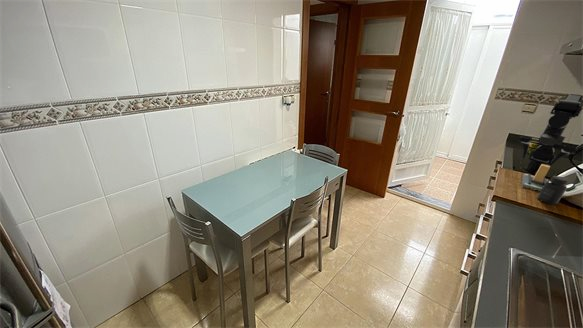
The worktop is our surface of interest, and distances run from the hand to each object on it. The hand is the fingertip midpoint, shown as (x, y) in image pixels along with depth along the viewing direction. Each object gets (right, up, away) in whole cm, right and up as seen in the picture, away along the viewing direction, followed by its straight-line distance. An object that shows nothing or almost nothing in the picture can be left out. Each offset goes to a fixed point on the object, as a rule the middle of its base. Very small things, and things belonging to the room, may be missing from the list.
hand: (536, 162), depth 109 cm
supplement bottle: (+4, -18, -1) cm, 19 cm away
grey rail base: (+12, -12, +12) cm, 21 cm away
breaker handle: (+12, -10, +12) cm, 20 cm away
